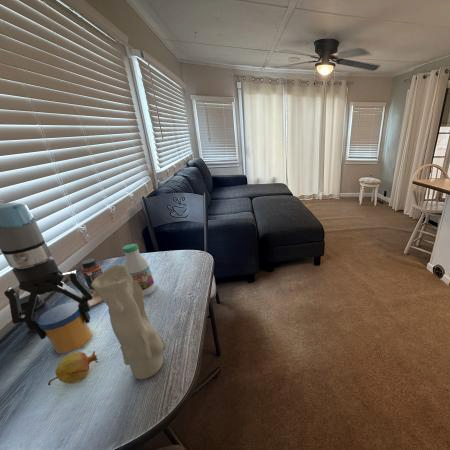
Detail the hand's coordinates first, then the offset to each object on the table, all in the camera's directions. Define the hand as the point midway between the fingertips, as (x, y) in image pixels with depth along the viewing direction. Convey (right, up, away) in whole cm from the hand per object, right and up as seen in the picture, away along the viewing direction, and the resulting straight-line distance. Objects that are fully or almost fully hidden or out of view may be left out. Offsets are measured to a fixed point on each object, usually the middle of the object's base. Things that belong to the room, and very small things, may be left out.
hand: (67, 327), depth 71 cm
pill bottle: (-17, -3, +9) cm, 19 cm away
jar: (0, -5, +2) cm, 5 cm away
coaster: (-11, +2, +21) cm, 23 cm away
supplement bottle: (-16, +5, +29) cm, 34 cm away
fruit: (+11, -9, -8) cm, 17 cm away
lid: (0, +5, -2) cm, 5 cm away
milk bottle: (+7, +4, +24) cm, 26 cm away
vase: (+29, -8, -7) cm, 31 cm away
